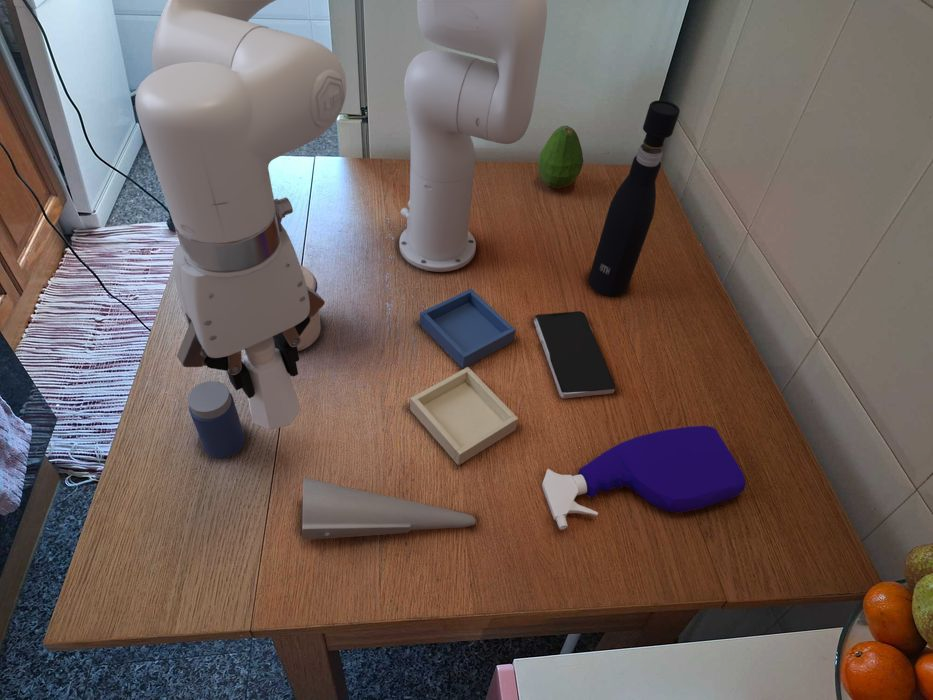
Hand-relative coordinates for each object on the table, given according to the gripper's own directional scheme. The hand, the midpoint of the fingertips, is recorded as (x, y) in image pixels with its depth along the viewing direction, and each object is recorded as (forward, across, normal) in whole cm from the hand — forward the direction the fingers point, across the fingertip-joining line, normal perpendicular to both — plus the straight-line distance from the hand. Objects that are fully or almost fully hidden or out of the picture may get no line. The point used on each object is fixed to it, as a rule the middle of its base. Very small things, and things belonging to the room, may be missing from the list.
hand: (266, 376), depth 64 cm
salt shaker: (+6, 0, 0) cm, 6 cm away
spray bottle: (+18, -33, +26) cm, 46 cm away
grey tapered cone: (+17, -6, +12) cm, 22 cm away
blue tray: (+18, -31, -6) cm, 36 cm away
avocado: (+19, -69, -26) cm, 76 cm away
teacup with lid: (+18, -9, -20) cm, 29 cm away
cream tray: (+17, -21, +6) cm, 28 cm away
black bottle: (+18, -57, -2) cm, 60 cm away
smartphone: (+18, -41, +6) cm, 45 cm away
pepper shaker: (+17, +5, -8) cm, 19 cm away
